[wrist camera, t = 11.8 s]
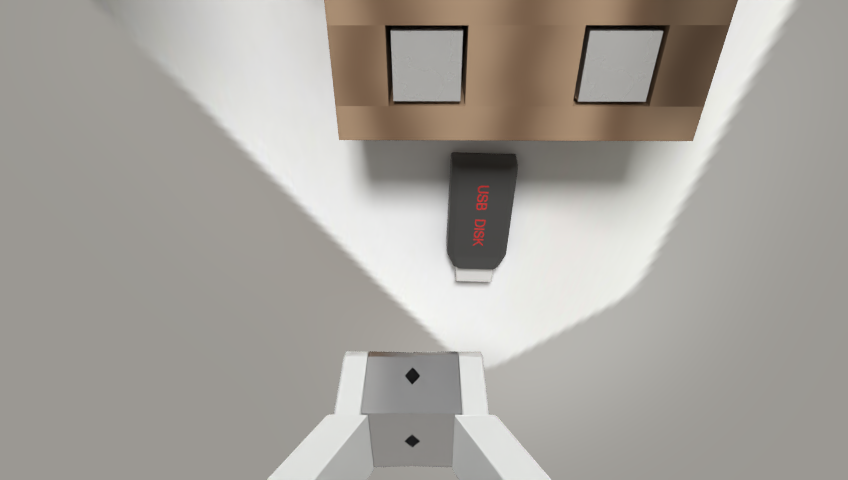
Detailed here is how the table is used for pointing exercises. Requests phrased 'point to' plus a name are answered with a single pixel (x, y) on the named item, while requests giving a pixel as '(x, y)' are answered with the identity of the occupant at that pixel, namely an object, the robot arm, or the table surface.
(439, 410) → the robot arm
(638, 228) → the table surface
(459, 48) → the peg left
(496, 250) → the usb drive
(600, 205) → the table surface
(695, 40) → the walnut block
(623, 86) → the peg right
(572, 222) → the table surface
